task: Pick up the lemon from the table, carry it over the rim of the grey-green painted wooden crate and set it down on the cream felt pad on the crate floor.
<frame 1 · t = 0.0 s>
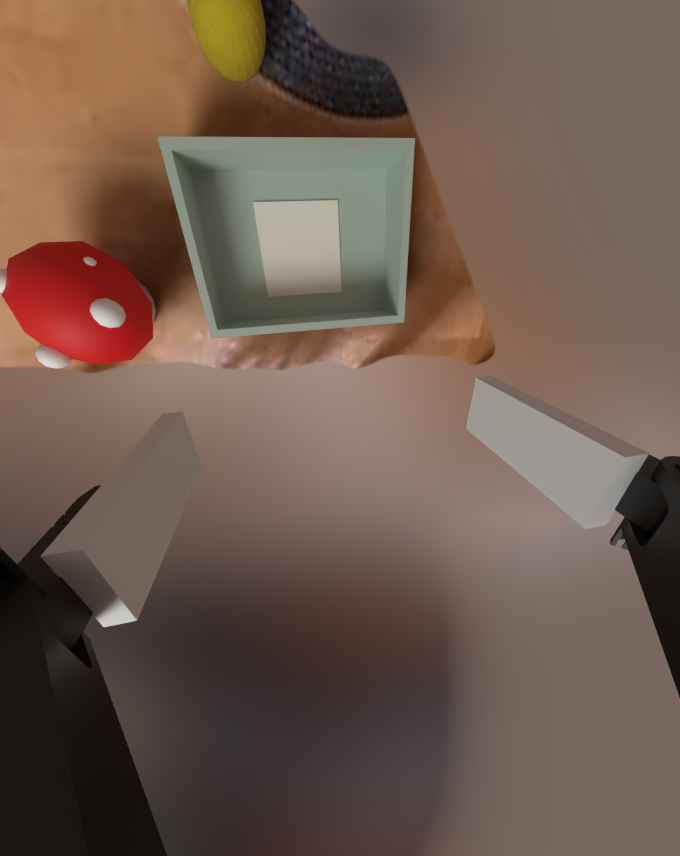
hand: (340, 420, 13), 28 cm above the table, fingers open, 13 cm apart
crate: (300, 251, 33), on the table
lemon: (236, 58, 25), on the table
mushroom: (123, 301, 32), on the table
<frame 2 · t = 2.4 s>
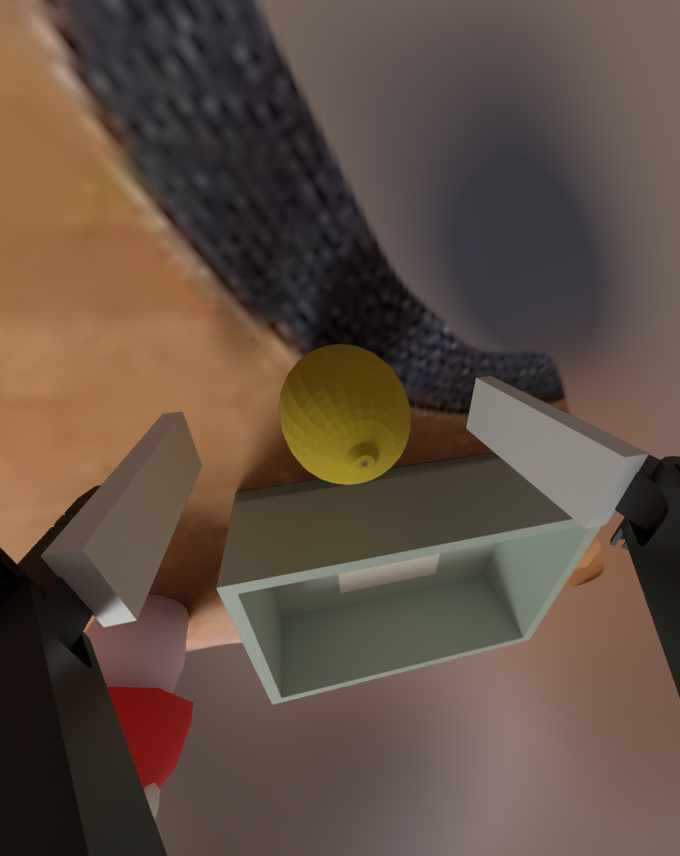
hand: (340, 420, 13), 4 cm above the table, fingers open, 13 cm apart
crate: (386, 539, 24), on the table
lemon: (328, 378, 16), on the table
mushroom: (144, 612, 24), on the table
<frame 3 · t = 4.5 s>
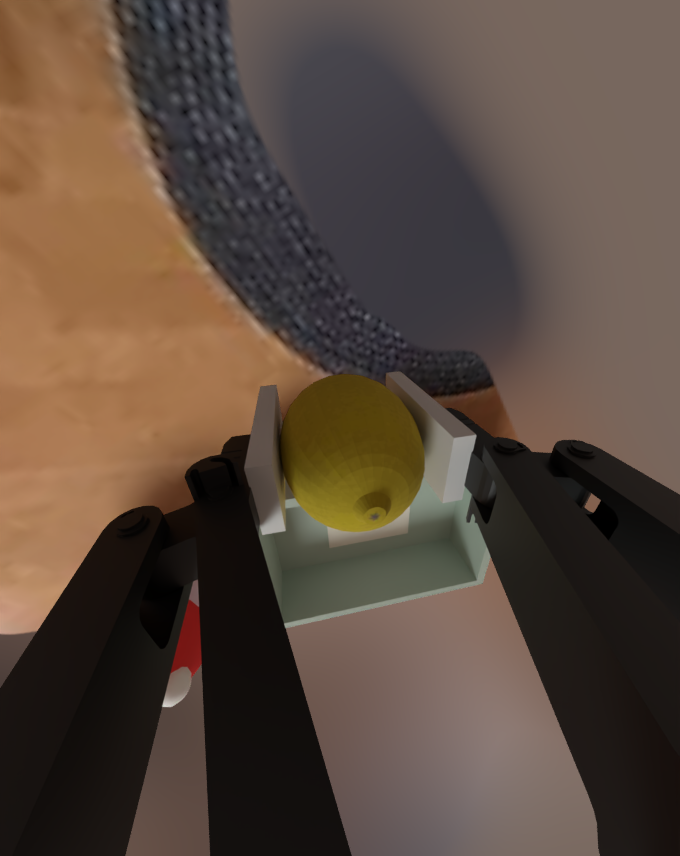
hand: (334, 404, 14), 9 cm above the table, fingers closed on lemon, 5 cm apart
crate: (366, 502, 30), on the table
lemon: (333, 405, 15), point 8 cm above the table, touching gripper
mushroom: (172, 563, 29), on the table
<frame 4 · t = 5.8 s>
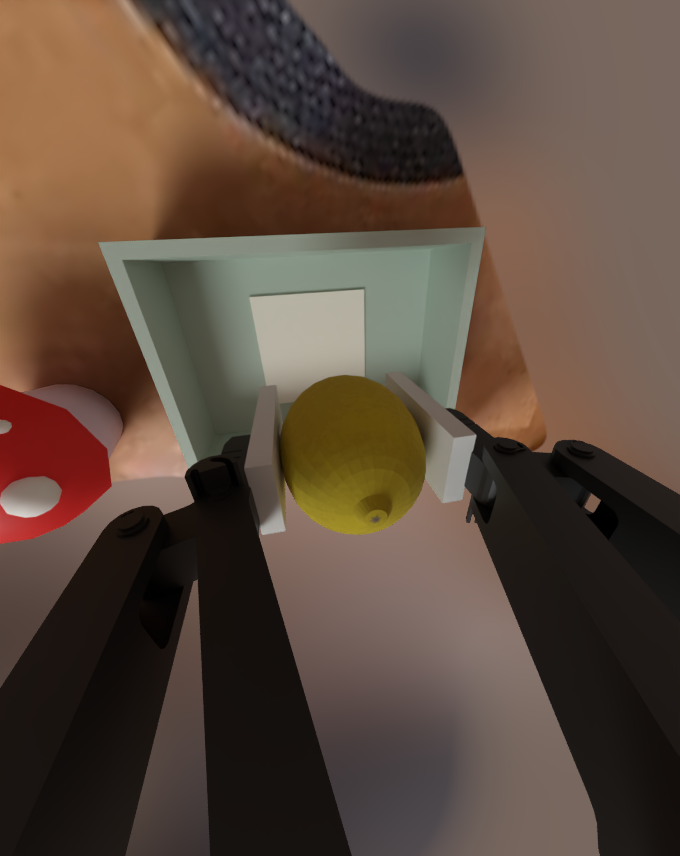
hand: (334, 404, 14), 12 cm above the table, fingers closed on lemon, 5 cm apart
crate: (312, 347, 25), on the table
lemon: (333, 406, 15), point 12 cm above the table, touching gripper
mushroom: (78, 415, 24), on the table
when the fingers open (3 cm above the table, at t = 7.4 s): lemon drops 1 cm, resting on crate.
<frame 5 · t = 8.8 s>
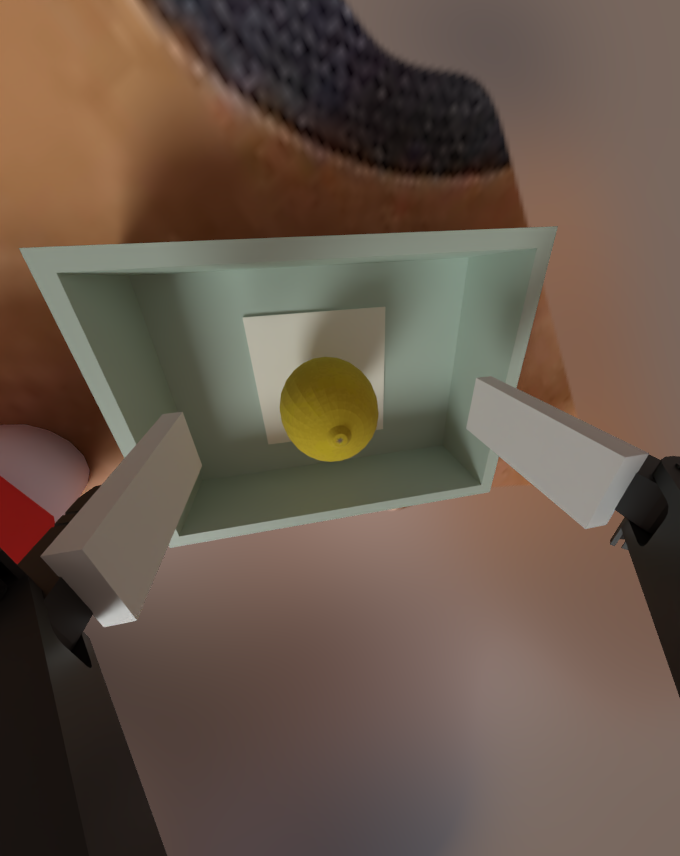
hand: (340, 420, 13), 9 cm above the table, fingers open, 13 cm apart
crate: (320, 376, 21), on the table
lemon: (320, 384, 20), point 1 cm above the table, touching crate
mushroom: (34, 460, 20), on the table
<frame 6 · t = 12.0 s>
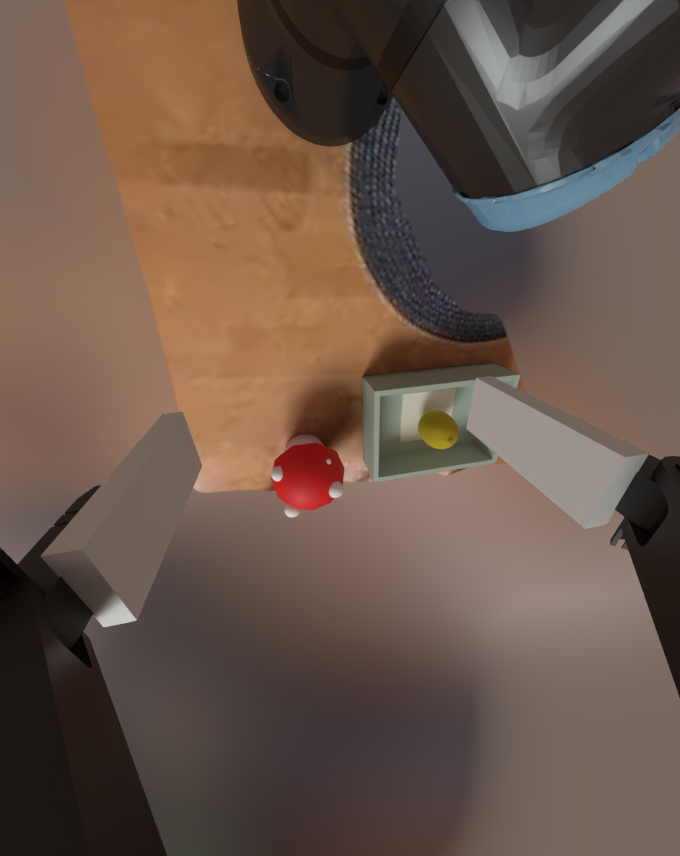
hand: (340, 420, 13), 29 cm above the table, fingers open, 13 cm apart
crate: (424, 413, 48), on the table
lemon: (425, 417, 47), point 1 cm above the table, touching crate
mushroom: (304, 448, 47), on the table
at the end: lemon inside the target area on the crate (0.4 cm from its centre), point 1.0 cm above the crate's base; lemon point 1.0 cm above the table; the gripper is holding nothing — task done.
